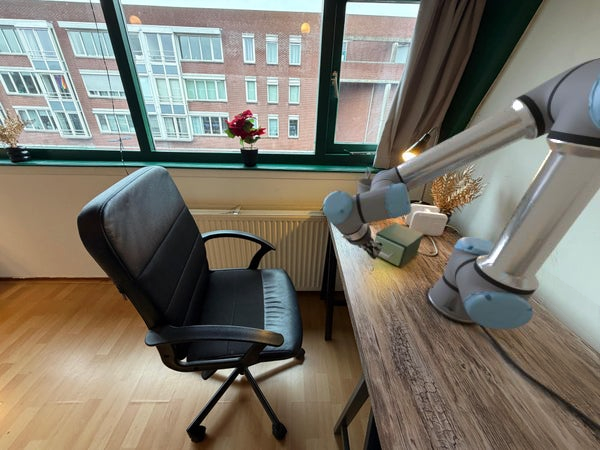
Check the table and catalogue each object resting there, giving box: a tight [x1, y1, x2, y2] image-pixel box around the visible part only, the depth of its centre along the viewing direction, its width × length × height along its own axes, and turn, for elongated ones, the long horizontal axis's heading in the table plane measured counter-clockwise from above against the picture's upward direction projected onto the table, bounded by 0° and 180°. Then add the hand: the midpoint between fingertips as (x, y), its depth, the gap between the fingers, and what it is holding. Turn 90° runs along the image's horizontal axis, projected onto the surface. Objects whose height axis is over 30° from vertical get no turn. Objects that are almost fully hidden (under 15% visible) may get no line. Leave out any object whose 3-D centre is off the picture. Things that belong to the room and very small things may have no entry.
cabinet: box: [375, 222, 425, 268], centre depth 100 cm, size 15×13×10 cm
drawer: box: [374, 235, 405, 267], centre depth 97 cm, size 18×11×8 cm, turn 133°
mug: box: [357, 167, 373, 226], centre depth 126 cm, size 19×15×25 cm
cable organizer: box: [404, 203, 449, 237], centre depth 118 cm, size 15×11×12 cm
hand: (375, 255), depth 88 cm, fingers closed
